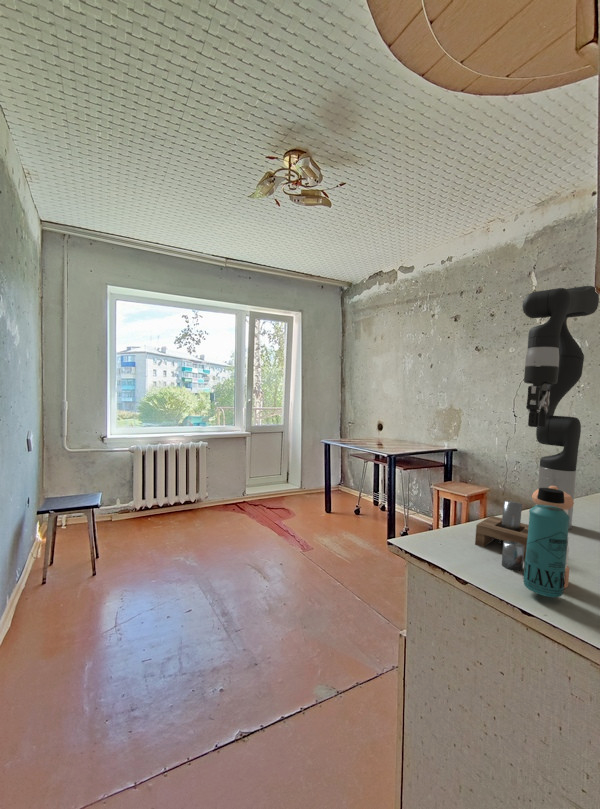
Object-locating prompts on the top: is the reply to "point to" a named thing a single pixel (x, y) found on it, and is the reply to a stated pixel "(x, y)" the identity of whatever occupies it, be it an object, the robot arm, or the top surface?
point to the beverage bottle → (547, 545)
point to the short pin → (513, 555)
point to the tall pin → (511, 516)
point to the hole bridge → (499, 532)
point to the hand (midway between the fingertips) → (536, 426)
